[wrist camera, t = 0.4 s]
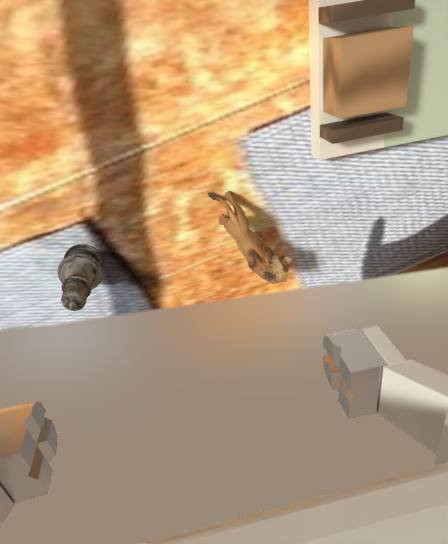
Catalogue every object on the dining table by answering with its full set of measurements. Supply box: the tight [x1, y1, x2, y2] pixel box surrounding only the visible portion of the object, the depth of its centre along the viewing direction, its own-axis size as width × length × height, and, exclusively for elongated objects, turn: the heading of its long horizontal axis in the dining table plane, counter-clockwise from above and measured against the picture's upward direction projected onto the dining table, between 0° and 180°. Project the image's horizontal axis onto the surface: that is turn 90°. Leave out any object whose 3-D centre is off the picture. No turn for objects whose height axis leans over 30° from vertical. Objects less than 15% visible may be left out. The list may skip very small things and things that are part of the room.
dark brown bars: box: [318, 0, 415, 144], centre depth 46 cm, size 14×9×4 cm, turn 8°
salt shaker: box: [58, 244, 103, 311], centre depth 52 cm, size 6×6×12 cm
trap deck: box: [308, 0, 448, 160], centre depth 50 cm, size 20×30×3 cm, turn 98°
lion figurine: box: [208, 191, 293, 284], centre depth 55 cm, size 15×5×9 cm, turn 42°
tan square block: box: [323, 26, 414, 119], centre depth 46 cm, size 8×8×5 cm
